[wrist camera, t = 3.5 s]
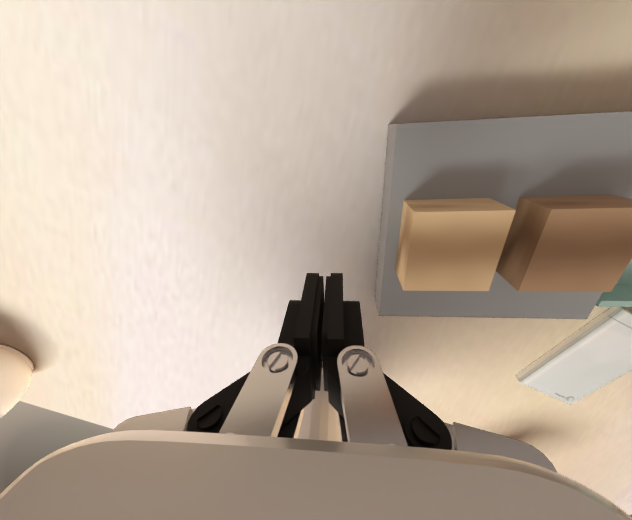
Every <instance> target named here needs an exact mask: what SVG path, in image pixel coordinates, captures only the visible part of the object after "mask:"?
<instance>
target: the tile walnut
mask: <svg viewBox="0 0 632 520" xmlns="http://www.w3.org/2000/svg"><path fill="white" fill-rule="evenodd" d="M515 210H516V212H515V215H514V218H513V221H512V223H511V226H510V229H509V232H508V235H507V238H506V241H505V244H504V247H503V250H502V253H501V256H500V259H499V262H498V265H497V268H496V272H497V273H498V274H500V275H501V276H502V277H503V278H504V279H505V280H506V281H507V282H508V283H510V284H511V285H512V286H513V287H514V288H515V289H516V290H517V291H535V292H611V291H612V289H613V288H614V286H615V285H616V283H617V281H618V280H619V278H620V277H621V275H622V273H623V272H624V270H625V269H626V267H627V265H628V264H629V262H630V260H631V259H632V199H629V198H624V197H620V196H616V195H584V196H545V197H519V200H518V203H517V206H516V209H515Z"/></svg>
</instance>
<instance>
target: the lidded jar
mask: <svg viewBox="0 0 632 520" xmlns="http://www.w3.org/2000/svg"><path fill="white" fill-rule="evenodd" d="M33 370H34V365H33V363H32V361H31V360H30V359H29V358H28V357H27V356H26V355H25V354H23V353H22V352H20V351H18V350H16V349H14V348H12V347H9V346H6V345H1V344H0V418H1V417H3V416H4V415H5V414H6V413H7V412H8V411H10V410H11V408H13V406H15V404H16V403H17V402H18V401H19V400H20V399H21V398H22V396H23V395H24V394H25V392H26V390H27V389H28V387H29V385H30V382H31V377H32V371H33Z"/></svg>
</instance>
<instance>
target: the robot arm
mask: <svg viewBox="0 0 632 520" xmlns="http://www.w3.org/2000/svg"><path fill="white" fill-rule="evenodd" d="M322 360H323V368H322ZM0 520H632V518H631V517H630V516H629V515H628V514H627V513H626V512H624V511H623V510H622V509H621V508H619V507H618V506H616V505H615V504H614V503H612V502H611V501H609V500H608V499H606V498H605V497H603V496H601V495H600V494H598V493H596V492H595V491H593V490H591V489H589V488H588V487H586V486H584V485H582V484H580V483H578V482H576V481H574V480H572V479H570V478H568V477H566V476H564V475H561V474H559V473H557V471H556V469H555V468H554V466H553V464H552V463H551V462H550V461H549V460H548V458H547V457H546V456H545V455H544V454H543V453H542V452H540V451H539V450H537V449H536V448H535V447H533V446H532V445H529V444H527V443H525V442H523V441H519V440H516V439H512V438H509V437H505V436H502V435H498V434H495V433H491V432H487V431H484V430H480V429H477V428H473V427H470V426H466V425H463V424H459V423H456V422H454V423H453V425H451V424H448V423H444V422H443V421H442V420H441V419H440V418H439V417H438V416H437V415H436V414H434V413H433V412H432V411H431V410H429V409H428V408H427V407H426V406H424V405H423V404H422V403H420V402H419V401H418V400H417V399H415V398H414V397H413V396H412V395H410V394H409V393H408V392H407V391H405V390H404V389H403V388H402V387H400V386H399V385H398V384H397V383H395V382H394V381H393V380H392V379H390V378H389V377H388V376H386V375H385V374H384V373H383V372H382V369H381V366H380V363H379V360H378V358H377V356H376V355H375V354H374V353H373V352H372V351H371V350H370V349H368V348H366V347H364V338H363V328H362V319H361V310H360V302H359V301H343V274H342V273H331V276H327V277H326V288H325V300H324V285H323V276H319V273H307V275H306V280H305V285H304V289H303V294H302V299H301V301H299V300H290V301H289V304H288V308H287V311H286V315H285V319H284V322H283V326H282V330H281V333H280V337H279V340H278V343H277V344H273V345H270V346H268V347H267V348H265V349H264V350H263V351H262V352H261V353H260V355H259V356H258V358H257V360H256V362H255V364H254V366H253V368H252V370H251V371H250V372H249V373H247V374H246V375H244V376H243V377H241V378H240V379H238V380H237V381H235V382H234V383H232V384H231V385H229V386H228V387H226V388H225V389H223V390H222V391H220V392H219V393H217V394H215V395H214V396H212V397H211V398H209V399H208V400H206V401H205V402H203V403H202V404H201V405H200V406H198V407H197V408H196V409H191V407H185V408H180V409H174V410H169V411H163V412H158V413H152V414H147V415H141V416H136V417H132V418H130V419H127V420H125V421H124V422H122V423H120V424H119V425H118V426H117V427H116V428H115V429H114V430H112V432H111V433H108V434H102V435H98V436H95V437H91V438H88V439H85V440H82V441H79V442H76V443H73V444H70V445H68V446H66V447H63V448H61V449H59V450H57V451H55V452H53V453H51V454H49V455H47V456H46V457H44V458H42V459H41V460H39V461H38V462H36V463H35V464H34V465H32V466H31V467H30V468H29V469H27V470H26V471H25V472H24V473H22V474H21V475H20V476H19V477H18V478H17V479H16V480H15V481H14V482H13V483H11V484H10V486H8V487H7V488H6V489H5V490H4V491H3V492H2V493H1V494H0Z"/></svg>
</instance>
